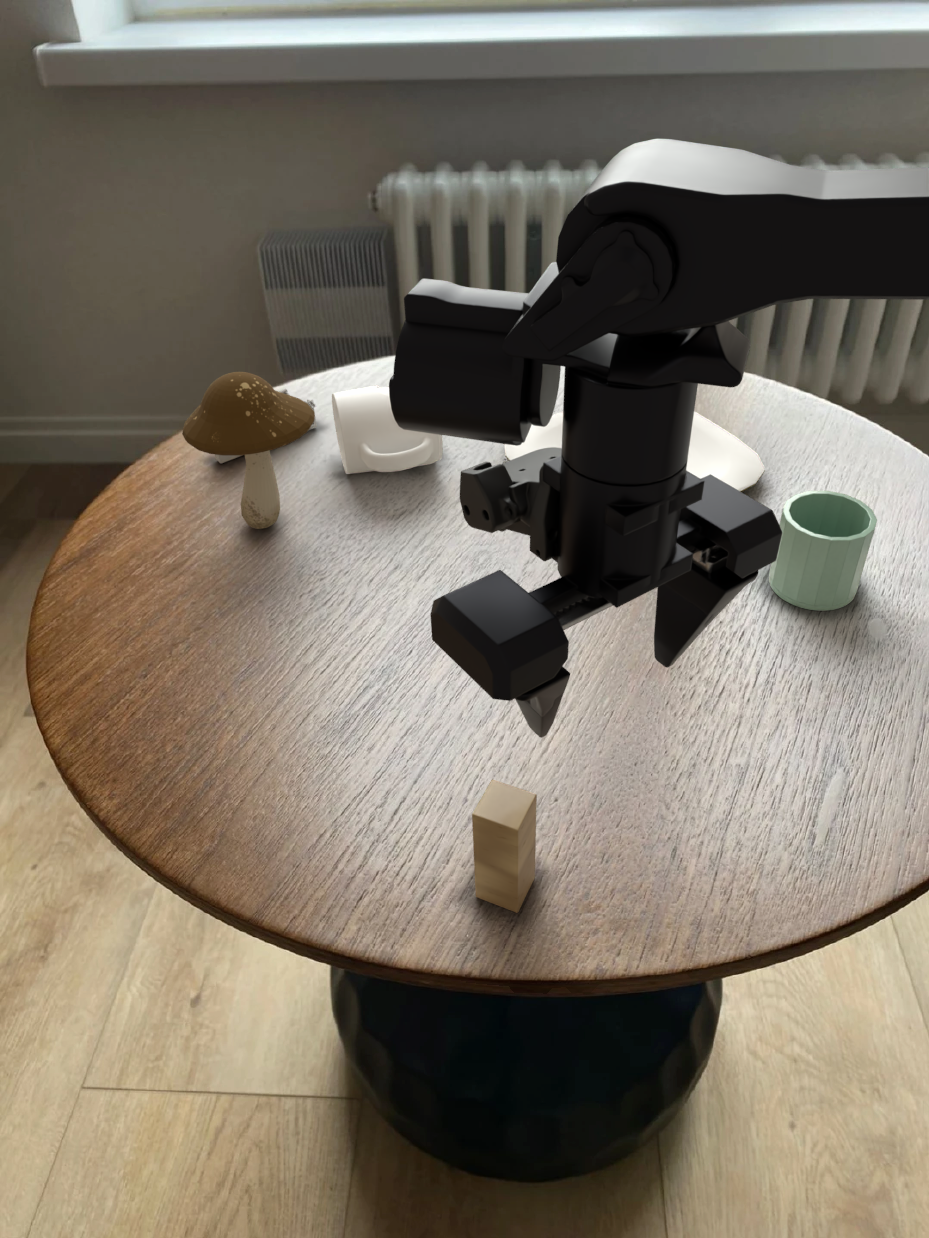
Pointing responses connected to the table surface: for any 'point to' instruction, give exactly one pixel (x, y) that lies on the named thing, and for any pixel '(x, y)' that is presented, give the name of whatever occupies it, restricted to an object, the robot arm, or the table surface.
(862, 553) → the cup
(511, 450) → the plate
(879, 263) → the robot arm
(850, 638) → the table surface
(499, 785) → the stick
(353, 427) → the mug
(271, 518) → the mushroom
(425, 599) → the table surface
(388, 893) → the table surface
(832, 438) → the table surface
